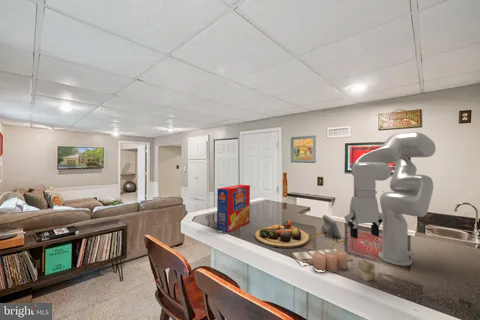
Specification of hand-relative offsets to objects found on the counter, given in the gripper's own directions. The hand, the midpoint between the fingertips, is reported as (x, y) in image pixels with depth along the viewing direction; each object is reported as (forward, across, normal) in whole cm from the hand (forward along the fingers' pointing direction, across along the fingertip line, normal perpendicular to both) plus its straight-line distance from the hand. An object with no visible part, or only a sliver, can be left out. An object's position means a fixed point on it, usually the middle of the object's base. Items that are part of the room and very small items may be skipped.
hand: (364, 236), depth 84 cm
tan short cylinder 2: (+16, +10, -8) cm, 20 cm away
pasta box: (+16, +41, -70) cm, 83 cm away
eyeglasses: (+17, -6, -33) cm, 38 cm away
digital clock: (+17, -16, -45) cm, 51 cm away
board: (+16, +8, -18) cm, 26 cm away
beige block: (+16, 0, +1) cm, 16 cm away
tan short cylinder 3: (+16, +4, -9) cm, 19 cm away
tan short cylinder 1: (+16, +15, -8) cm, 23 cm away
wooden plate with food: (+17, +17, -46) cm, 52 cm away
